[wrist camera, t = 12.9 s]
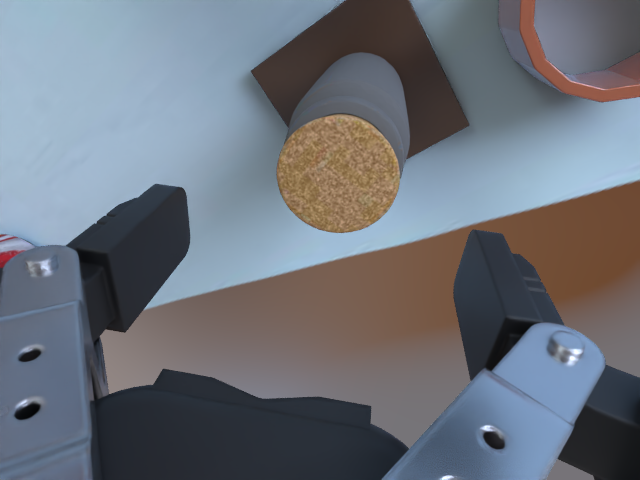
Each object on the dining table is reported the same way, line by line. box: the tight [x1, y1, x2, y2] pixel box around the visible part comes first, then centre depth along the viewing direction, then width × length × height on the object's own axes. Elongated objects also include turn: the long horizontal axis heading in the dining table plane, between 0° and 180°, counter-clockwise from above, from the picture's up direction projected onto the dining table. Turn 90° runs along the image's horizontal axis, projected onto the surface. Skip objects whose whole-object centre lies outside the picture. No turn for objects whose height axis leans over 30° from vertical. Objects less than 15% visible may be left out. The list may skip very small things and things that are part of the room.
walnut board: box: [251, 0, 469, 159], centre depth 29 cm, size 11×11×1 cm
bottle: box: [277, 52, 410, 233], centre depth 22 cm, size 6×6×15 cm
